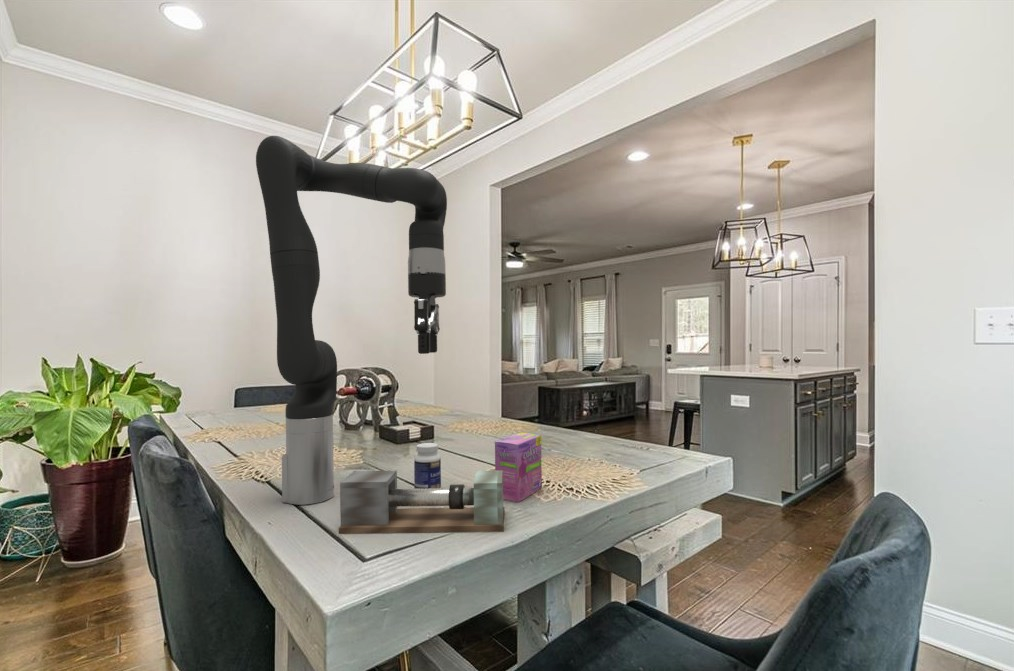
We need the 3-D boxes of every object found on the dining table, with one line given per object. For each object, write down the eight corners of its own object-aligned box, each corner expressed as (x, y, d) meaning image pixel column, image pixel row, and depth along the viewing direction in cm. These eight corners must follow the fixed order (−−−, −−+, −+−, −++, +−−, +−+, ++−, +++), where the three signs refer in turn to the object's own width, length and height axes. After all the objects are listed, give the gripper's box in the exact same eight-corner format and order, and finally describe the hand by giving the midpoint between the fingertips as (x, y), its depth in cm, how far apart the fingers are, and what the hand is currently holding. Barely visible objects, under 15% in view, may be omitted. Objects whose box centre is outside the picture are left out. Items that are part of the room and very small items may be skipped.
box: (518, 503, 94) (517, 443, 94) (494, 498, 97) (493, 440, 97) (543, 488, 102) (542, 434, 103) (520, 485, 105) (519, 432, 106)
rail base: (338, 533, 80) (338, 484, 80) (356, 514, 89) (355, 469, 89) (503, 531, 79) (502, 481, 80) (504, 512, 88) (503, 467, 89)
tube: (387, 513, 82) (386, 489, 82) (393, 505, 86) (392, 482, 86) (490, 512, 82) (489, 488, 82) (491, 504, 86) (490, 480, 86)
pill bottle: (435, 495, 99) (434, 448, 99) (410, 494, 100) (409, 447, 101) (444, 487, 105) (443, 442, 105) (420, 485, 106) (419, 441, 106)
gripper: (415, 278, 103) (416, 352, 102) (400, 268, 88) (401, 354, 88) (450, 277, 102) (451, 352, 102) (439, 267, 88) (441, 353, 88)
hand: (428, 353), depth 95 cm, fingers open, 8 cm apart
